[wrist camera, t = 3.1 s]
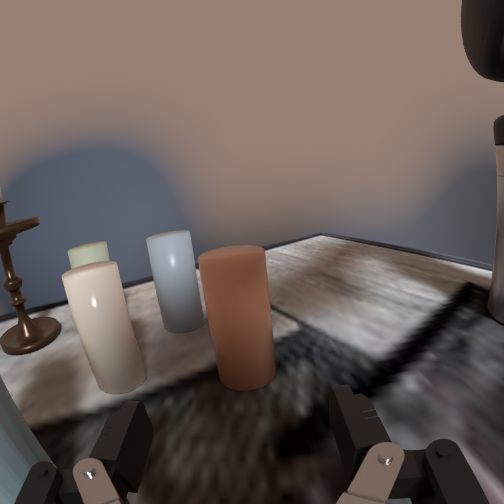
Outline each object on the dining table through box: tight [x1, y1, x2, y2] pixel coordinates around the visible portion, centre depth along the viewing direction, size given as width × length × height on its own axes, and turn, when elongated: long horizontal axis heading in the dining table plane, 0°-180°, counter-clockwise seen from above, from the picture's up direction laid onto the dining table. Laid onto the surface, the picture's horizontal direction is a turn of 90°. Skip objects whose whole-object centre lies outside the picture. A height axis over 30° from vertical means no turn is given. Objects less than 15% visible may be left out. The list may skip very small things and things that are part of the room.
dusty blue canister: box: [146, 230, 204, 333], centre depth 33 cm, size 5×5×10 cm
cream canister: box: [62, 261, 147, 394], centre depth 23 cm, size 5×5×10 cm
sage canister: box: [68, 242, 110, 269], centre depth 33 cm, size 5×5×10 cm
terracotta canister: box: [198, 245, 276, 391], centre depth 23 cm, size 5×5×10 cm
